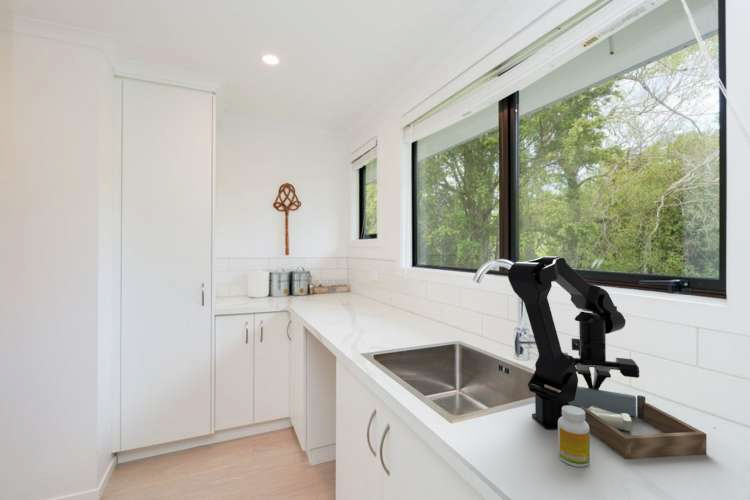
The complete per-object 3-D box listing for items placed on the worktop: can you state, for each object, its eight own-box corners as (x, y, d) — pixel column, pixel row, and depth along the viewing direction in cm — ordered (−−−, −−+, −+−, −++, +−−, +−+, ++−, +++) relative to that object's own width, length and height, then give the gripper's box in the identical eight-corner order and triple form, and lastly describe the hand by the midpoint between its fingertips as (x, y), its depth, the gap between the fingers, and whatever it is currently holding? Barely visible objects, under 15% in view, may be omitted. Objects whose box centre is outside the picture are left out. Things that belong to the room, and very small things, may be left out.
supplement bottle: (594, 469, 65) (594, 417, 65) (563, 466, 66) (562, 415, 66) (583, 452, 71) (583, 404, 70) (554, 449, 72) (554, 402, 71)
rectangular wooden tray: (625, 459, 68) (625, 433, 68) (573, 419, 84) (573, 398, 84) (707, 453, 70) (707, 428, 70) (641, 415, 85) (641, 395, 85)
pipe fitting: (582, 418, 86) (591, 430, 79) (582, 401, 86) (590, 412, 79) (620, 422, 83) (632, 435, 77) (620, 405, 84) (632, 416, 77)
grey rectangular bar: (565, 403, 92) (564, 386, 92) (565, 401, 93) (565, 384, 93) (636, 416, 84) (636, 398, 84) (635, 414, 86) (635, 395, 86)
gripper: (629, 331, 94) (629, 388, 94) (551, 326, 102) (552, 379, 102) (639, 344, 84) (640, 408, 84) (552, 337, 92) (553, 395, 92)
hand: (593, 396), depth 91 cm, fingers closed
